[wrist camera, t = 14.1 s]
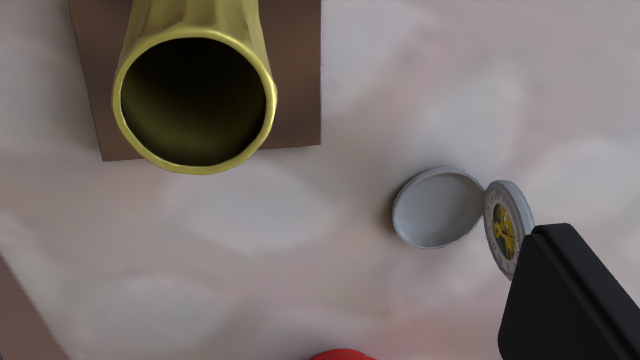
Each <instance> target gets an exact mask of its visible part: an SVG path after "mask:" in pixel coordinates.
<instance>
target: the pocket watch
mask: <svg viewBox="0 0 640 360" xmlns="http://www.w3.org/2000/svg"><path fill="white" fill-rule="evenodd" d="M506 213H507V215H506ZM482 215H483V218H484V227H485V232H486V237H487V241H488V244H489V247H490V250H491V252H492V255H493V258H494V260H495V262H496V263H497V265H498V267H499V269H500V270H501V271H502V272H503V273H504V275H505V276H506V277H507V278H508V279H509V280H510V281H512V279H513V275H514V271H515V268H516V264H517V260H518V256H519V252H520V248H521V244H522V241H523V238H524V237H525V235H528V234H531V231H532V229H533V228H534V227H535V222H534V218H533V215H532V213H531V210H530V207H529V205H528V203H527V201H526V199H525V197H524V195H523V193H522V192H521V190H520V189H519V188H518V187H517V186H516V185H515V184H514V183H512V182H511V181H505V180H497V181H494V182H492V183H490V185H489V186H488V188H487V190H484V189H483V187H482V185H481V183H480V182H479V181H478V180H477V179H476V178H475V177H474V176H473V175H472V174H471V173H469V172H467V171H466V170H463V169H459V168H455V167H440V168H434V169H430V170H428V171H425V172H423V173H421V174H419V175H417V176H415V177H414V178H413V179H412V180H411V181H409V182H408V183H407V184H406V185H405V186H404V187H403V188H402V189H401V191H400V192H399V193H398V195H397V197H396V199H395V201H394V204H393V208H392V221H393V225H394V228H395V231H396V232H397V234H398V235H399V236H400V238H401V239H402V240H403V241H405V242H406V243H408V244H409V245H412V246H415V247H418V248H422V249H435V248H442V247H445V246H447V245H450V244H452V243H455V242H458V241H459V240H461V239H462V238H464V237H465V236H467V235H468V234H469V233H470V232H471V231H472V230H473V229H474V228H475V227H476V226H477V224H478V222H479V221H480V219H481V217H482ZM508 215H509V216H508ZM506 225H508V226H507V227H508V229H507V227H506ZM509 227H510V228H509Z"/></svg>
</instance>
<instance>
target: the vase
mask: <svg viewBox="0 0 640 360" xmlns="http://www.w3.org/2000/svg"><path fill="white" fill-rule="evenodd" d="M111 105H112V111H113V114H114V118H115V120H116V123H117V126H118V128H119V130H120V131H121V133H122V134H123V136H124V137H125V138H126V139H127V141H128V142H129V143H130V144H131V146H132V147H133V148H134V149H135V150H136V151H137V152H138V153H139V154H140V155H141V156H142V157H144V158H145V159H147V160H148V161H150V162H152V163H153V164H155V165H157V166H158V167H161V168H163V169H165V170H168V171H171V172H175V173H181V174H193V175H210V174H215V173H219V172H223V171H226V170H228V169H231V168H233V167H235V166H237V165H239V164H240V163H242V162H244V161H245V160H246V159H248V158H249V157H250V156H251V155H252V154H253V153H254V152H255V151H256V150H257V149H258V147H259V146H260V145H261V144H262V143H263V142H264V140H265V139H266V137H267V136H268V134H269V132H270V130H271V127H272V123H273V119H274V115H275V110H276V105H277V88H276V85H275V83H274V81H273V78H272V74H271V69H270V65H269V61H268V57H267V53H266V48H265V43H264V38H263V32H262V28H261V25H260V20H259V13H258V0H133V5H132V10H131V14H130V19H129V24H128V28H127V31H126V35H125V39H124V43H123V48H122V51H121V54H120V58H119V62H118V67H117V70H116V73H115V78H114V83H113V88H112V95H111Z"/></svg>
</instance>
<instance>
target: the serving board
mask: <svg viewBox="0 0 640 360" xmlns="http://www.w3.org/2000/svg"><path fill="white" fill-rule="evenodd" d="M68 5H69V9H70V14H71V18H72V23H73V28H74V32H75V37H76V41H77V46H78V50H79V55H80V59H81V64H82V69H83V73H84V78H85V82H86V87H87V91H88V96H89V100H90V105H91V110H92V114H93V119H94V123H95V128H96V132H97V137H98V141H99V146H100V150H101V155H102V160H103V161H104V162H105V161H118V160H131V159H144V157H142V156H141V155H140V154H139V153H138V152H137V151H136V150H135V149H134V148H133V147H132V146H131V144H130V143H129V142H128V141H127V139H126V138H125V137H124V136H123V134H122V133H121V131H120V130H119V128H118V126H117V123H116V120H115V118H114V114H113V111H112V105H111V95H112V88H113V83H114V78H115V73H116V70H117V67H118V62H119V58H120V54H121V51H122V48H123V43H124V39H125V35H126V31H127V28H128V24H129V19H130V14H131V10H132V5H133V0H68ZM258 13H259V20H260V25H261V28H262V32H263V38H264V43H265V48H266V53H267V57H268V61H269V65H270V69H271V74H272V78H273V81H274V83H275V85H276V88H277V105H276V110H275V115H274V119H273V123H272V127H271V130H270V132H269V134H268V136H267V137H266V139H265V140H264V142H263V143H262V144H261V145H260V146H259V147H258V149H257V150H260V149H273V148H286V147H299V146H311V145H321V92H322V0H258Z"/></svg>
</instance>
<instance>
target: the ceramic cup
mask: <svg viewBox="0 0 640 360" xmlns="http://www.w3.org/2000/svg"><path fill="white" fill-rule="evenodd" d="M310 360H376V359H374V358H371V357H369V356H366V355H364V354H363V353H360V352H358V351H354V350H348V349H338V350H331V351H327V352H324V353H321V354H319V355H317V356H315V357H313V358H311V359H310Z"/></svg>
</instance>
